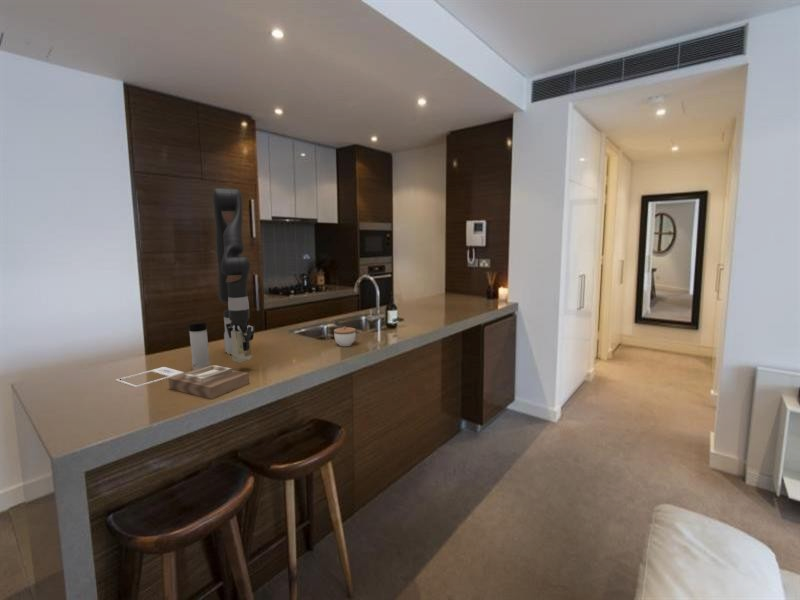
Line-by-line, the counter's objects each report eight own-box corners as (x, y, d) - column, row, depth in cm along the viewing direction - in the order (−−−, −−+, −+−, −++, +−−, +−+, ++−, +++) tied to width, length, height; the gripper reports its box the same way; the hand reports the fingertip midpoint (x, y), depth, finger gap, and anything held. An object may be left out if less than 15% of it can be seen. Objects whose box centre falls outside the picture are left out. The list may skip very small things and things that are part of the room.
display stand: (169, 388, 143) (168, 374, 142) (208, 375, 157) (207, 361, 156) (211, 399, 133) (210, 383, 132) (249, 383, 147) (248, 369, 147)
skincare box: (239, 363, 158) (237, 332, 156) (232, 361, 161) (229, 331, 158) (252, 358, 164) (250, 329, 162) (245, 356, 166) (243, 328, 164)
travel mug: (193, 373, 159) (188, 324, 156) (193, 369, 165) (188, 321, 162) (210, 371, 162) (206, 322, 159) (209, 366, 168) (205, 319, 165)
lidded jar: (354, 347, 194) (354, 328, 193) (332, 347, 195) (331, 328, 193) (357, 342, 205) (356, 324, 204) (336, 342, 205) (335, 324, 204)
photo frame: (184, 371, 160) (135, 386, 145) (184, 374, 160) (135, 388, 145) (163, 366, 167) (115, 379, 152) (164, 368, 167) (115, 382, 152)
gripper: (218, 308, 159) (221, 349, 161) (244, 311, 152) (247, 354, 155) (233, 304, 165) (236, 345, 168) (259, 307, 159) (262, 349, 162)
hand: (241, 349), depth 162 cm, fingers closed on skincare box, 4 cm apart
